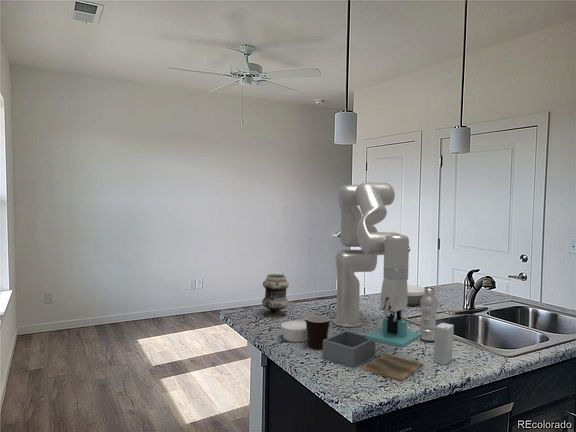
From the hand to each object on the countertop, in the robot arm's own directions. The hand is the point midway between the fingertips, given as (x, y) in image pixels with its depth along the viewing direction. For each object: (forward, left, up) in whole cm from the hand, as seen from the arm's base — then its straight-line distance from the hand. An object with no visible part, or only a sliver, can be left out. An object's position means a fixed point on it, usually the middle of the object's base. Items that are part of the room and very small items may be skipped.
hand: (394, 331), depth 130 cm
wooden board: (0, 0, -12) cm, 12 cm away
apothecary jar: (-18, -67, -12) cm, 71 cm away
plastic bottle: (-33, -2, -12) cm, 35 cm away
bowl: (-81, -32, -12) cm, 88 cm away
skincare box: (-16, +10, -12) cm, 22 cm away
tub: (+2, -15, -12) cm, 19 cm away
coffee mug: (0, -29, -12) cm, 32 cm away
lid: (0, 0, -2) cm, 2 cm away
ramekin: (0, -40, -12) cm, 42 cm away
